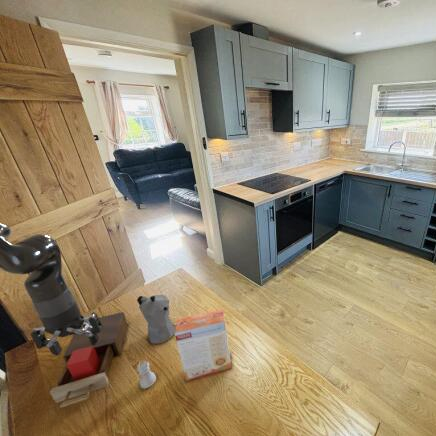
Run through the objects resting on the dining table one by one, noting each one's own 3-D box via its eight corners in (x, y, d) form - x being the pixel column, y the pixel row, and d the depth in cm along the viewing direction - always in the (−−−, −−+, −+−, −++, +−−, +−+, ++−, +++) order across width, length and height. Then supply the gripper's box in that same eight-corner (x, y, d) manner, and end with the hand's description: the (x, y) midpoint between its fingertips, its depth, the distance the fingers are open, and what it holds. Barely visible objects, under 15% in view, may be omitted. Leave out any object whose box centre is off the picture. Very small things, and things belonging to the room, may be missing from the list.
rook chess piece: (151, 389, 72) (145, 372, 69) (136, 389, 72) (130, 371, 69) (159, 375, 76) (154, 358, 73) (145, 374, 76) (139, 357, 73)
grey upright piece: (184, 330, 92) (176, 293, 85) (164, 350, 84) (153, 311, 77) (156, 317, 98) (147, 282, 91) (134, 335, 90) (122, 298, 83)
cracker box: (229, 353, 84) (224, 307, 76) (231, 368, 79) (225, 322, 70) (187, 364, 80) (176, 317, 71) (185, 381, 74) (173, 333, 66)
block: (75, 383, 72) (66, 365, 68) (81, 368, 76) (73, 350, 73) (96, 376, 73) (87, 359, 70) (100, 362, 78) (93, 345, 74)
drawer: (104, 400, 68) (99, 389, 67) (49, 419, 64) (42, 408, 62) (118, 349, 83) (114, 339, 81) (74, 361, 79) (69, 351, 77)
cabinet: (119, 355, 82) (114, 342, 79) (70, 370, 77) (62, 356, 74) (127, 324, 94) (123, 311, 92) (85, 335, 89) (79, 322, 87)
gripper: (93, 290, 70) (109, 330, 76) (29, 303, 64) (52, 345, 71) (84, 308, 63) (102, 350, 70) (12, 324, 58) (39, 368, 65)
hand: (77, 347), depth 70 cm, fingers open, 8 cm apart
